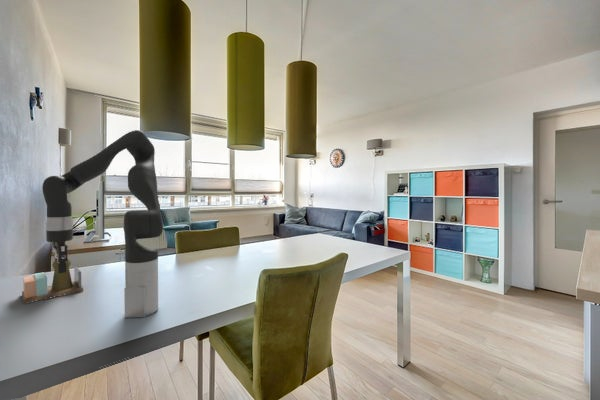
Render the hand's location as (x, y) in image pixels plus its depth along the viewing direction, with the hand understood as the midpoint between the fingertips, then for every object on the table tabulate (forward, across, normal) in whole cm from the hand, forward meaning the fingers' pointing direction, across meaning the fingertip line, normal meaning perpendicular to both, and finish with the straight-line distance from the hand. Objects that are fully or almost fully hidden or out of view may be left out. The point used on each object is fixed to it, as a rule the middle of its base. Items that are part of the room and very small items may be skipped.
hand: (60, 270), depth 101 cm
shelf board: (+8, 0, +2) cm, 9 cm away
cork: (+7, 0, 0) cm, 7 cm away
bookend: (+7, 0, -5) cm, 8 cm away
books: (+7, 0, +7) cm, 10 cm away
